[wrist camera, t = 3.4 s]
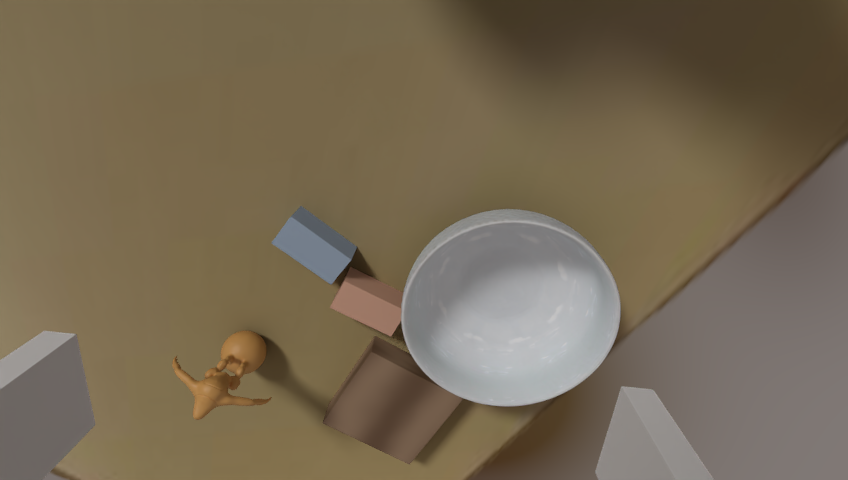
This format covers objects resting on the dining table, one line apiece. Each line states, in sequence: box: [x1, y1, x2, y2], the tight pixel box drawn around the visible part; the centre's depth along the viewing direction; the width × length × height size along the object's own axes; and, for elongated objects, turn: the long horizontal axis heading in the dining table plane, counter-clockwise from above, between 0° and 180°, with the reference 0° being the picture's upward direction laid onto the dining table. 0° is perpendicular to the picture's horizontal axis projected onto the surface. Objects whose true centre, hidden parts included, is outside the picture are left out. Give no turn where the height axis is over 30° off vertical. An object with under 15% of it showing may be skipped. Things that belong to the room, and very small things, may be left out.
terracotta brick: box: [330, 267, 403, 336], centre depth 40 cm, size 6×3×3 cm, turn 61°
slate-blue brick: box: [272, 206, 357, 284], centre depth 39 cm, size 6×3×3 cm, turn 51°
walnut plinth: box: [323, 336, 463, 464], centre depth 45 cm, size 10×10×3 cm
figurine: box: [173, 331, 272, 420], centre depth 38 cm, size 8×6×12 cm
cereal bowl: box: [401, 209, 621, 407], centre depth 37 cm, size 17×17×7 cm
